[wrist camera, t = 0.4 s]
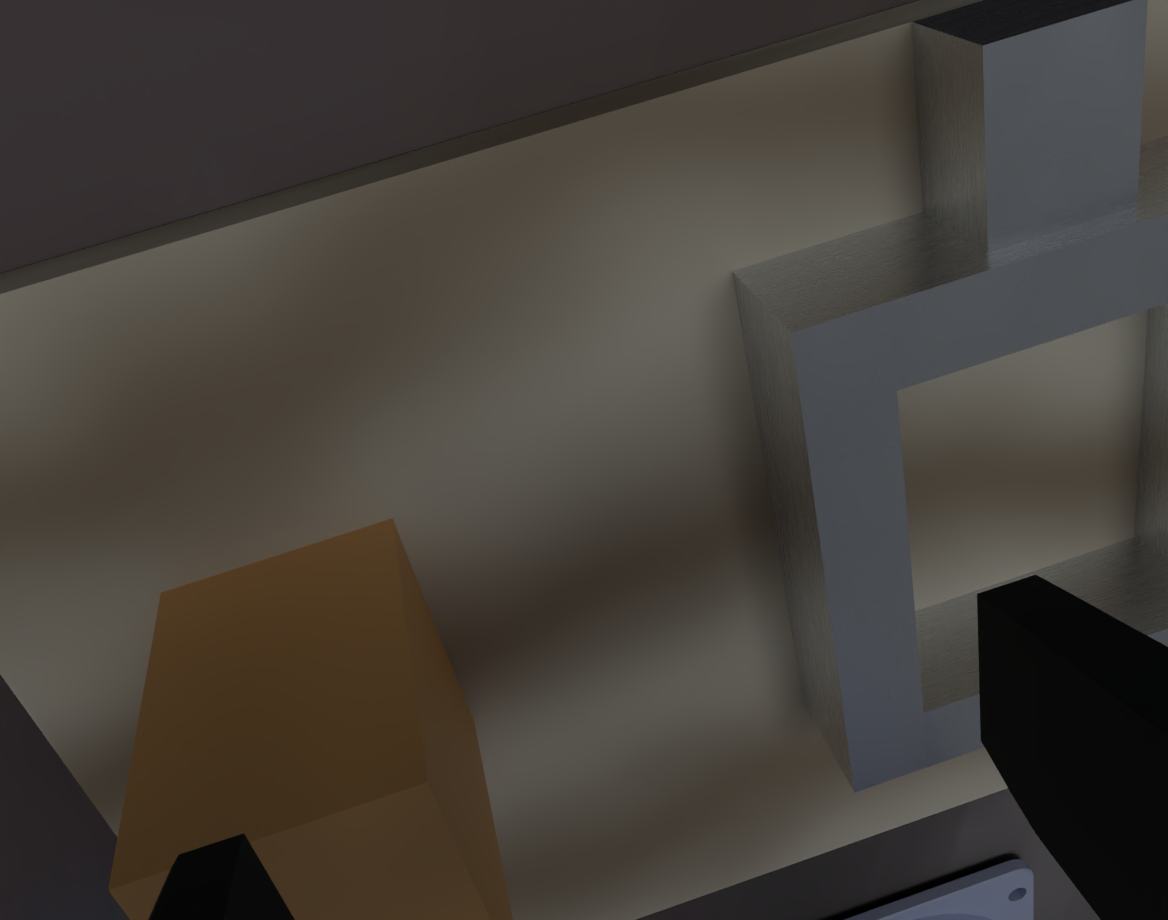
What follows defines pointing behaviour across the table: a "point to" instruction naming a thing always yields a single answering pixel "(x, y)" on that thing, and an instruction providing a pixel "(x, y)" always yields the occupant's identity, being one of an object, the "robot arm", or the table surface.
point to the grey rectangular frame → (958, 357)
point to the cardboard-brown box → (312, 741)
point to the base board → (540, 452)
